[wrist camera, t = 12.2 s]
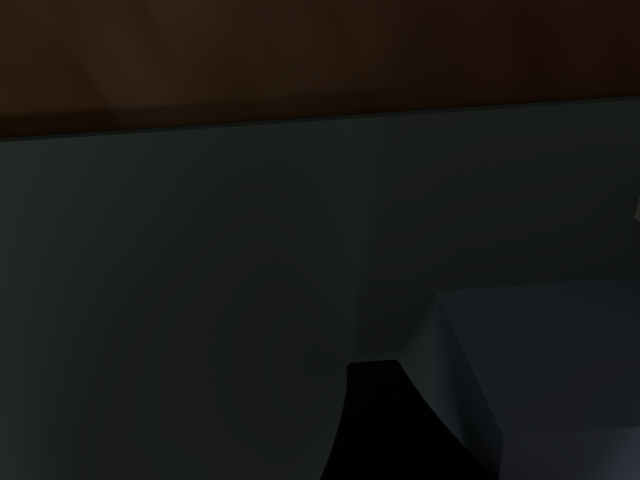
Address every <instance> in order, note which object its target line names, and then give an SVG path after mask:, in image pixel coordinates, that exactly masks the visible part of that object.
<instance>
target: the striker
mask: <svg viewBox="0 0 640 480" xmlns="http://www.w3.org/2000/svg"><path fill="white" fill-rule="evenodd" d="M430 407H431V408H432V410H433V411H434V412H435V413H436V415H437V416H438V417H439V418H440V420H441V421H442V422H443V423H444V424H445V425H446V427H447V428H448V429H449V430H450V431H451V432H452V433H453V434H454V436H455V437H456V438H457V439H458V440H459V441H460V442H461V443H462V444H463V445H464V446H465V447H466V448H467V449H468V450H469V451H470V452H471V453H472V454H473V455H474V456H475V457H476V458H477V459H478V460H479V461H480V462H481V463H482V464H483V465H484V466H485V467H486V468H487V469H488V470H490V471H491V472H492V473H493V474H494V475H495V476H496V477H497V478H499V479H500V480H640V276H639V277H626V278H612V279H598V280H585V281H571V282H557V283H544V284H530V285H516V286H503V287H489V288H475V289H462V290H448V291H435V311H434V332H433V353H432V373H431V394H430Z"/></svg>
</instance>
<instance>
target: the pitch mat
mask: <svg viewBox="0 0 640 480" xmlns="http://www.w3.org/2000/svg"><path fill="white" fill-rule="evenodd" d="M639 196H640V96H627V97H612V98H597V99H582V100H567V101H552V102H537V103H522V104H507V105H492V106H477V107H462V108H447V109H432V110H417V111H402V112H387V113H372V114H357V115H342V116H327V117H312V118H297V119H282V120H267V121H252V122H237V123H222V124H207V125H192V126H177V127H162V128H147V129H132V130H116V131H101V132H86V133H71V134H56V135H41V136H26V137H11V138H0V480H320V478H321V476H322V473H323V471H324V468H325V466H326V463H327V460H328V458H329V455H330V452H331V449H332V446H333V443H334V440H335V436H336V433H337V430H338V427H339V423H340V419H341V414H342V410H343V405H344V401H345V394H346V387H347V371H346V366H347V365H349V364H350V363H354V362H368V361H381V360H395V359H396V360H397V361H398V362H400V364H401V366H402V367H403V369H404V371H405V372H406V374H407V375H408V377H409V378H410V380H411V381H412V383H413V384H414V386H415V387H416V389H417V390H418V391H419V393H420V394H421V396H422V397H423V398H424V400H425V401H426V402H427V403H428V405H429V406H430V394H431V373H432V353H433V332H434V311H435V291H448V290H462V289H475V288H489V287H503V286H516V285H530V284H544V283H557V282H571V281H585V280H598V279H612V278H626V277H639V276H640V222H639V221H638V220H636V219H635V214H636V209H637V205H638V201H639Z"/></svg>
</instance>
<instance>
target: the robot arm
mask: <svg viewBox="0 0 640 480" xmlns="http://www.w3.org/2000/svg"><path fill="white" fill-rule="evenodd" d="M346 371H347V387H346V394H345V401H344V405H343V410H342V414H341V419H340V423H339V427H338V430H337V433H336V436H335V440H334V443H333V446H332V449H331V452H330V455H329V458H328V460H327V463H326V466H325V468H324V471H323V473H322V476H321V478H320V480H500V479H499V478H497V477H496V476H495V475H494V474H493V473H492V472H491V471H490V470H488V469H487V468H486V467H485V466H484V465H483V464H482V463H481V462H480V461H479V460H478V459H477V458H476V457H475V456H474V455H473V454H472V453H471V452H470V451H469V450H468V449H467V448H466V447H465V446H464V445H463V444H462V443H461V442H460V441H459V440H458V439H457V438H456V437H455V436H454V434H453V433H452V432H451V431H450V430H449V429H448V428H447V427H446V425H445V424H444V423H443V422H442V421H441V420H440V418H439V417H438V416H437V415H436V413H435V412H434V411H433V410H432V408H431V407H430V406H429V405H428V403H427V402H426V401H425V400H424V398H423V397H422V396H421V394H420V393H419V391H418V390H417V389H416V387H415V386H414V384H413V383H412V381H411V380H410V378H409V377H408V375H407V374H406V372H405V371H404V369H403V367H402V366H401V364H400V362H398V361H397V360H396V359H395V360H381V361H368V362H354V363H350V364H349V365H347V366H346Z"/></svg>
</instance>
